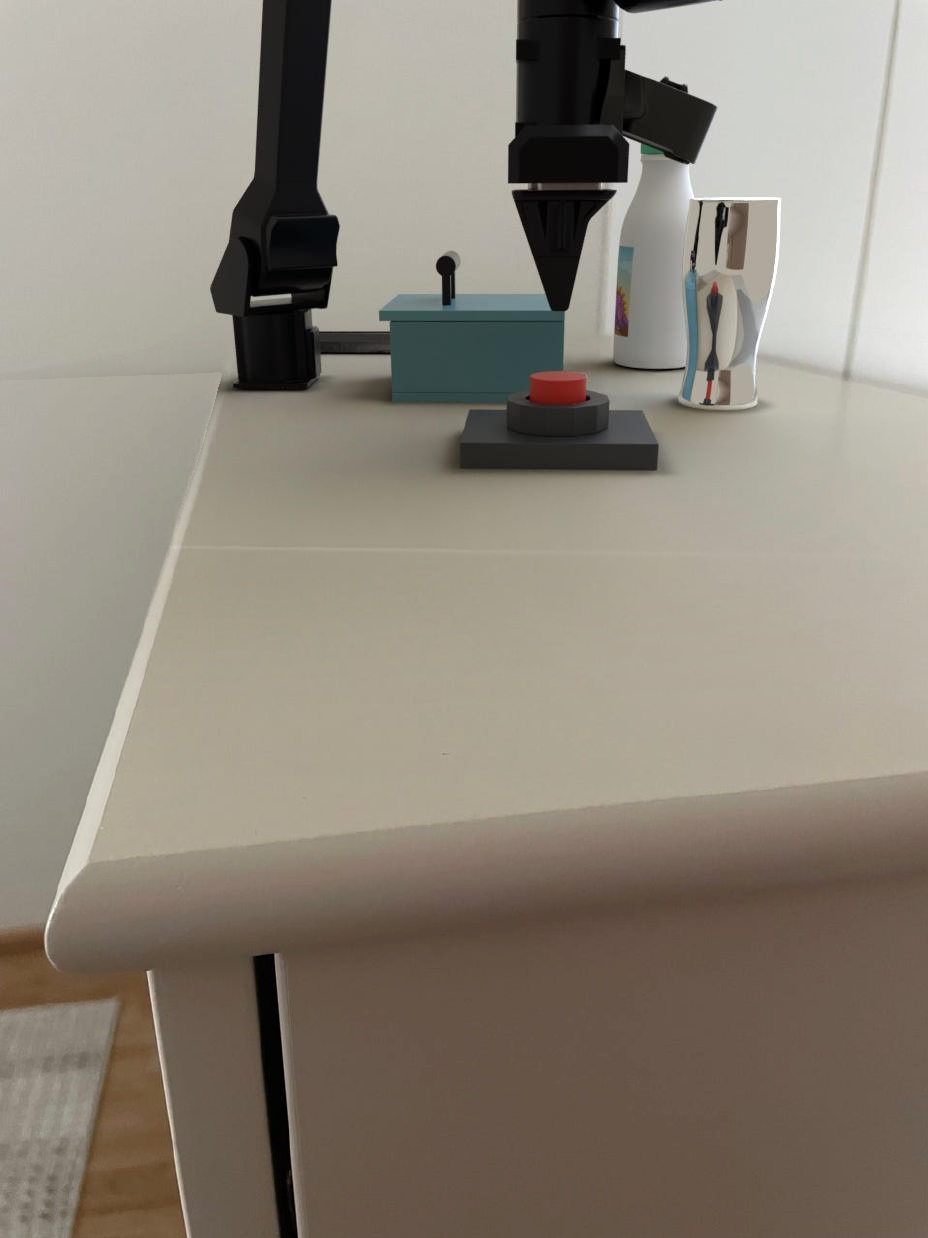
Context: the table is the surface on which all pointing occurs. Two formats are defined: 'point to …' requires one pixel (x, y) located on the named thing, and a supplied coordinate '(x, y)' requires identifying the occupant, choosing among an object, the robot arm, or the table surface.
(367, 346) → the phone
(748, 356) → the beer glass
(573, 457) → the control box
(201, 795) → the table surface
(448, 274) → the lid
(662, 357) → the milk bottle
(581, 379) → the power button
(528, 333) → the teal rectangular box
